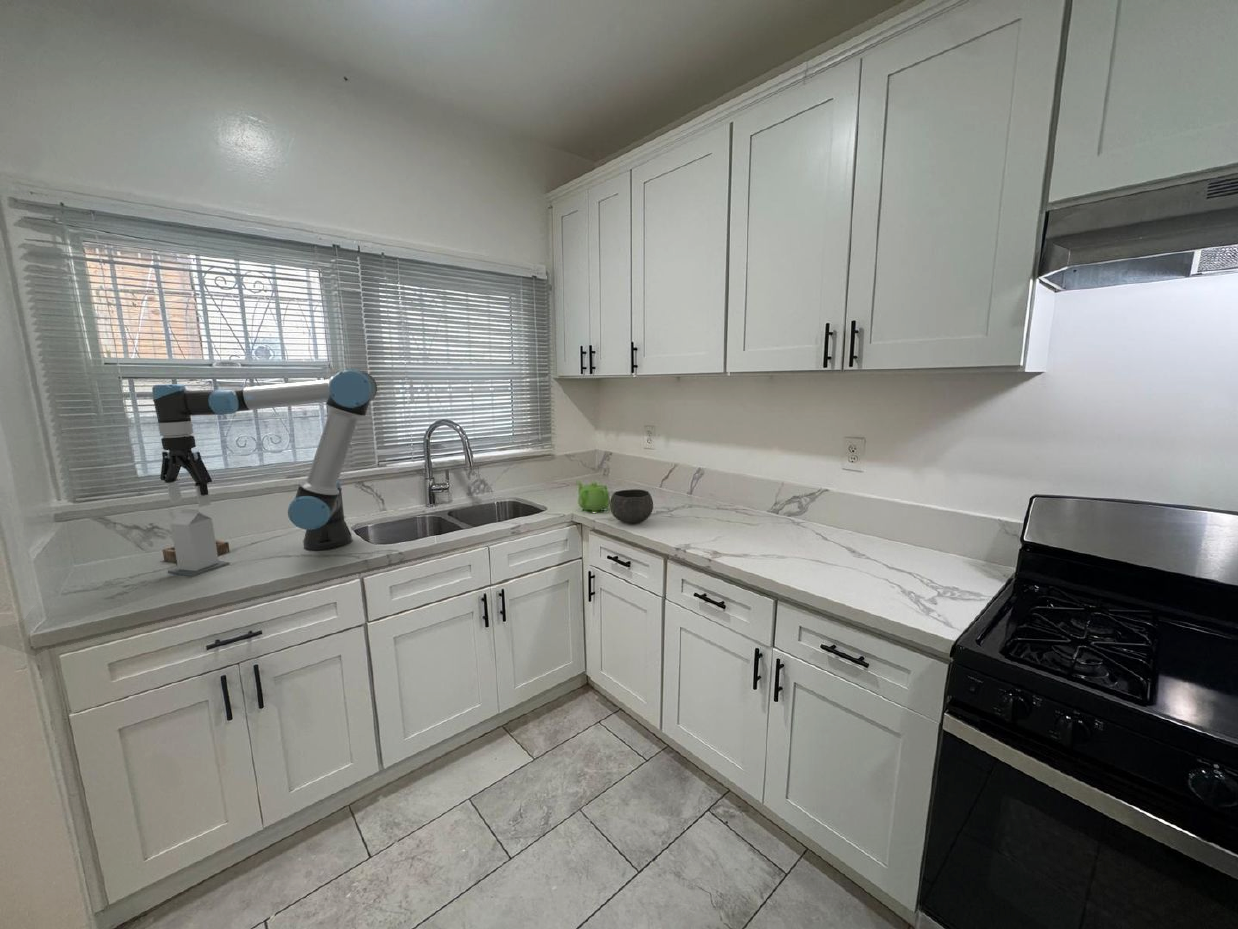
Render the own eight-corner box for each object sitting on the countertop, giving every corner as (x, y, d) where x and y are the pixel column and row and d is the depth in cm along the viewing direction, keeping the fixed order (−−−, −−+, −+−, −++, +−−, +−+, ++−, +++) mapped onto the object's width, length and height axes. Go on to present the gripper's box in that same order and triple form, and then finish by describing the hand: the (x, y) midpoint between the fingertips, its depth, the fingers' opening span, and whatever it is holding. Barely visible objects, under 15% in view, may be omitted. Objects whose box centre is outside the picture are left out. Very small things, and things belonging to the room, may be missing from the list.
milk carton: (196, 571, 150) (186, 512, 147) (178, 569, 151) (167, 510, 148) (219, 563, 157) (210, 506, 153) (201, 561, 158) (192, 505, 155)
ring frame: (229, 551, 169) (228, 542, 168) (188, 564, 157) (186, 554, 157) (206, 547, 173) (204, 538, 172) (164, 560, 161) (162, 550, 161)
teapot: (572, 514, 214) (572, 486, 212) (576, 505, 228) (576, 479, 226) (609, 514, 213) (609, 486, 211) (611, 505, 227) (610, 479, 225)
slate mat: (229, 564, 157) (229, 562, 157) (190, 577, 147) (190, 575, 147) (207, 560, 161) (207, 558, 161) (167, 572, 151) (167, 570, 151)
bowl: (628, 531, 189) (628, 500, 187) (601, 521, 203) (600, 491, 201) (662, 523, 200) (662, 493, 198) (633, 513, 214) (633, 485, 212)
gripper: (218, 435, 146) (230, 503, 150) (166, 433, 154) (178, 498, 158) (189, 438, 139) (202, 510, 143) (136, 436, 148) (150, 504, 151)
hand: (190, 504), depth 151 cm, fingers open, 13 cm apart
